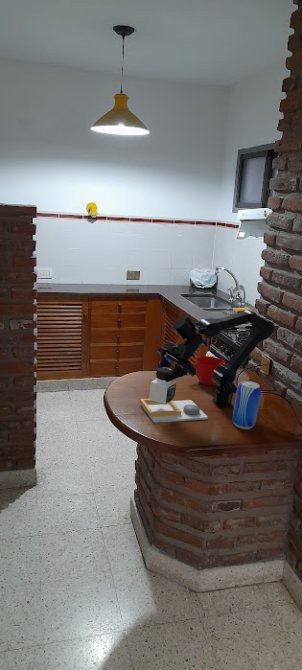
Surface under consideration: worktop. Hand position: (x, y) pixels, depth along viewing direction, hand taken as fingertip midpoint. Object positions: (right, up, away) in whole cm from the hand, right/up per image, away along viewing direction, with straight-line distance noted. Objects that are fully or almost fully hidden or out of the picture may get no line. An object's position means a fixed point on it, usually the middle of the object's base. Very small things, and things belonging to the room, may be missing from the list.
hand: (161, 378), depth 179 cm
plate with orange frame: (+5, -13, +5) cm, 15 cm away
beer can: (+30, -17, +1) cm, 35 cm away
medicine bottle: (0, -8, +3) cm, 9 cm away
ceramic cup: (+19, -5, +38) cm, 43 cm away
